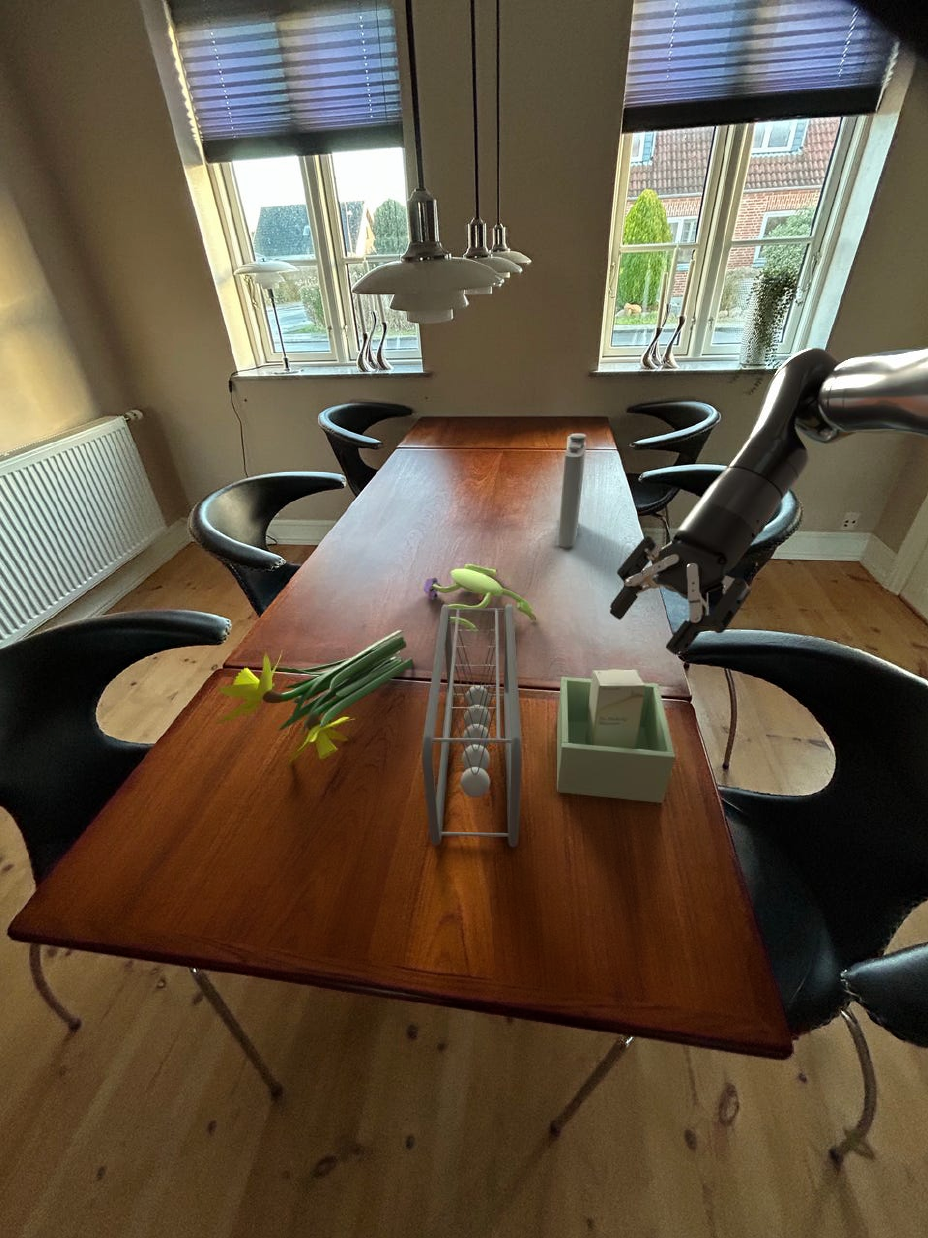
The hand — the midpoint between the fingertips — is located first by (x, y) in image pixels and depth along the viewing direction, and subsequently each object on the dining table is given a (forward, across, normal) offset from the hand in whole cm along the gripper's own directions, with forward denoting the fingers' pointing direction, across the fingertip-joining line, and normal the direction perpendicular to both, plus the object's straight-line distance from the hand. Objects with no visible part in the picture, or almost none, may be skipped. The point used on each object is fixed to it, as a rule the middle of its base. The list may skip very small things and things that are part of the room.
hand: (641, 633), depth 62 cm
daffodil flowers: (+36, -32, -4) cm, 48 cm away
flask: (-16, -61, +48) cm, 80 cm away
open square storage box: (+16, -2, +16) cm, 23 cm away
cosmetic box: (+15, -2, +16) cm, 22 cm away
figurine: (+11, -46, +21) cm, 51 cm away
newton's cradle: (+27, -12, +5) cm, 30 cm away
